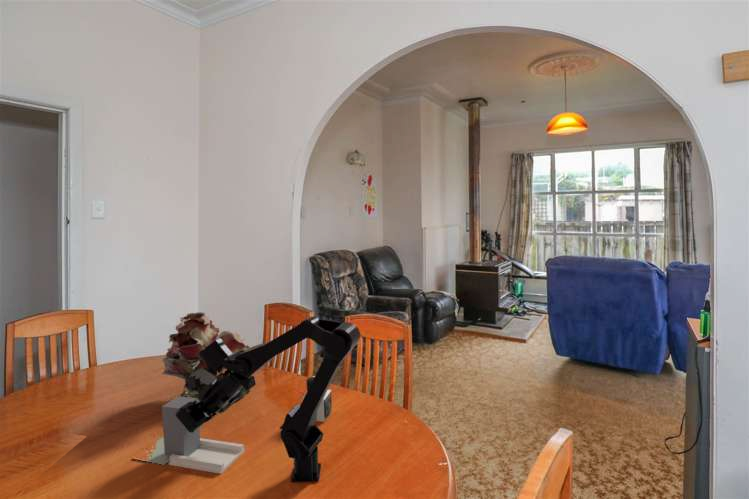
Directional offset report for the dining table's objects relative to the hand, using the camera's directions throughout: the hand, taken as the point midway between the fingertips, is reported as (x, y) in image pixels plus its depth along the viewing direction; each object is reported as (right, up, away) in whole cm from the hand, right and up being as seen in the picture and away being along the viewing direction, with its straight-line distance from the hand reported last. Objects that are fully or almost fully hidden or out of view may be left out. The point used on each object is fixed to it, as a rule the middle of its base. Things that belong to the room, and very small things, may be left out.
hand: (191, 423), depth 108 cm
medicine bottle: (+29, -7, +21) cm, 37 cm away
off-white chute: (+4, -9, 0) cm, 10 cm away
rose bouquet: (-11, -6, +34) cm, 37 cm away
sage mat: (-9, -9, +3) cm, 13 cm away
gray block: (-3, -9, +2) cm, 9 cm away
